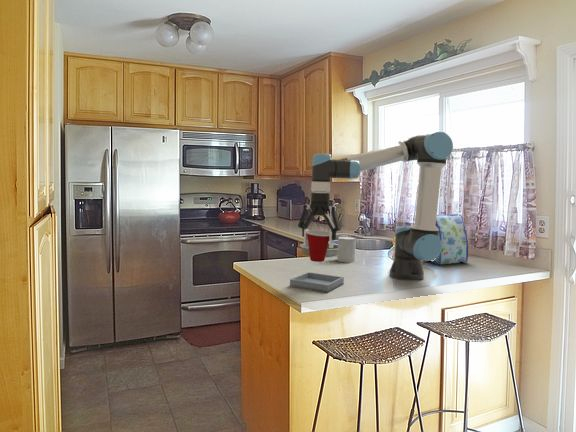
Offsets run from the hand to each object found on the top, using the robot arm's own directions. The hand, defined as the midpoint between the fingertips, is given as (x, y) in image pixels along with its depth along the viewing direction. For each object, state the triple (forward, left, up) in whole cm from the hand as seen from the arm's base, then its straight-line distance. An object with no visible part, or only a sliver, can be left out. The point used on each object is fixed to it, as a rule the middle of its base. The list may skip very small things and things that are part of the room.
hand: (318, 246), depth 183 cm
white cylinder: (+10, -58, -17) cm, 61 cm away
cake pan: (+31, -71, -17) cm, 79 cm away
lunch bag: (-35, -87, -17) cm, 95 cm away
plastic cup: (0, 0, -6) cm, 6 cm away
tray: (0, 0, -16) cm, 16 cm away
